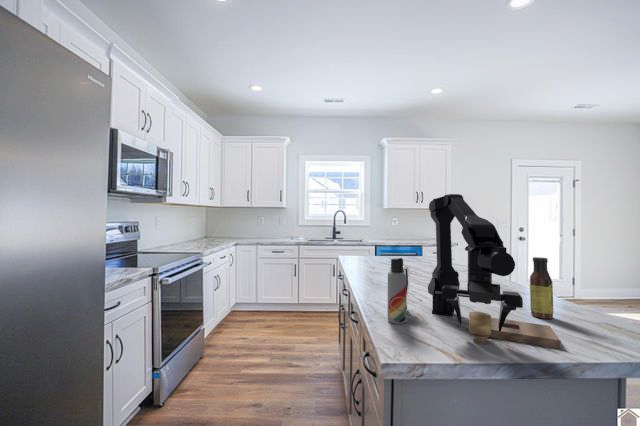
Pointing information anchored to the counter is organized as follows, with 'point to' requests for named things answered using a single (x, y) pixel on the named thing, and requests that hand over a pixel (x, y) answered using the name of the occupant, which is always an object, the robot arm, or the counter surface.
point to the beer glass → (406, 270)
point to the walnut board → (525, 333)
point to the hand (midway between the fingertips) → (479, 327)
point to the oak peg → (480, 325)
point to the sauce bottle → (541, 290)
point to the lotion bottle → (397, 292)
